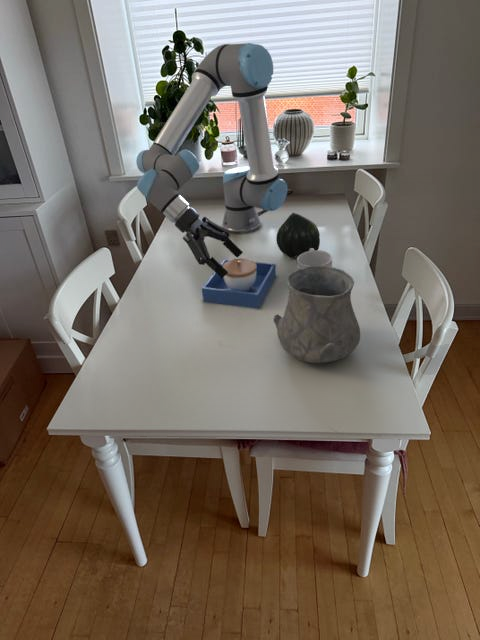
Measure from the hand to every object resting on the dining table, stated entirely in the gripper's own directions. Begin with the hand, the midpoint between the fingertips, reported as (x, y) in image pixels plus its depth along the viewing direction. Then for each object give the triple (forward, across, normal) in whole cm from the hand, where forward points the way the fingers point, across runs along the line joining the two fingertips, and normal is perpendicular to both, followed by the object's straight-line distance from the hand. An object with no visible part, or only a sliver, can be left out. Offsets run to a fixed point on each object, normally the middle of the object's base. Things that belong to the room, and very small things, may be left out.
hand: (233, 265), depth 138 cm
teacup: (+22, -12, +10) cm, 27 cm away
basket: (+7, 0, -4) cm, 9 cm away
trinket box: (+7, 0, -4) cm, 8 cm away
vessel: (+27, +24, +15) cm, 39 cm away
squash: (+16, -28, +4) cm, 33 cm away
